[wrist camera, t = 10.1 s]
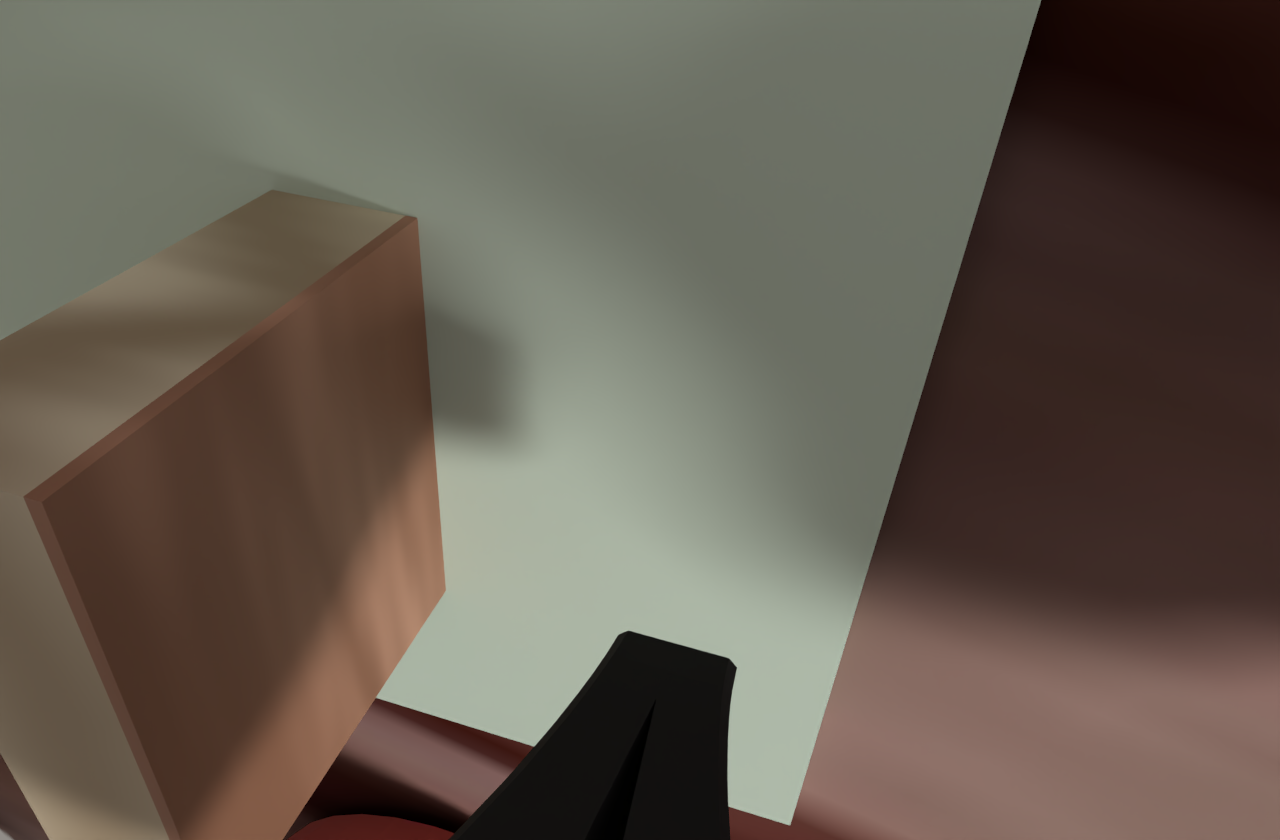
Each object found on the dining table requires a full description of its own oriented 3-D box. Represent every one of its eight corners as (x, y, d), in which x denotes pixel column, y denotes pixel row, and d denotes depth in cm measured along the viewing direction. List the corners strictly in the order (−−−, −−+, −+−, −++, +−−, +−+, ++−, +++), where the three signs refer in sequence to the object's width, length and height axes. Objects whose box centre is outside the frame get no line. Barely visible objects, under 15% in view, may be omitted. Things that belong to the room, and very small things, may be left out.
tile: (417, 217, 14) (41, 501, 8) (445, 591, 18) (220, 934, 13) (271, 189, 14) (-180, 439, 8) (335, 559, 19) (71, 878, 13)
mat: (1094, -191, 9) (1099, -191, 9) (792, 808, 20) (789, 825, 19) (-373, -317, 13) (-407, -320, 13) (30, 576, 23) (17, 587, 23)
